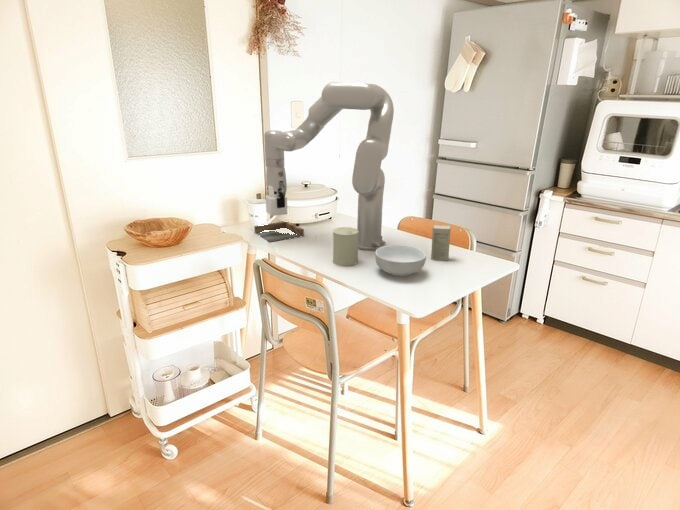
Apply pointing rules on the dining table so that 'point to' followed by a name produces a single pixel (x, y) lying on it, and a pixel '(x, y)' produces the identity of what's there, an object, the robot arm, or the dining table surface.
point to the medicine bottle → (274, 203)
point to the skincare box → (440, 242)
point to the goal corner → (277, 236)
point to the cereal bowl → (400, 259)
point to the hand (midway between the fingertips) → (276, 205)
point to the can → (345, 246)
